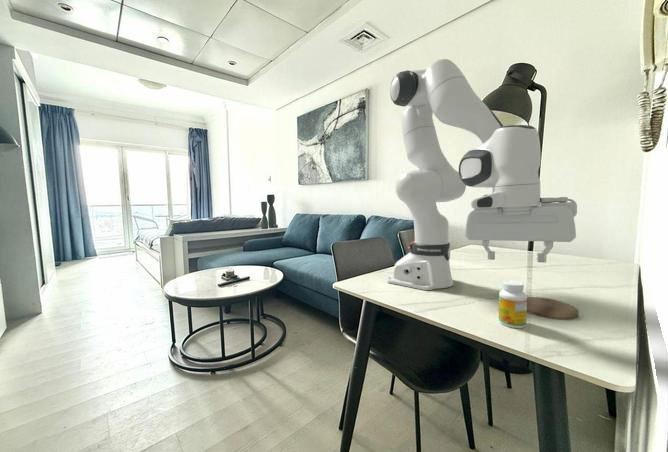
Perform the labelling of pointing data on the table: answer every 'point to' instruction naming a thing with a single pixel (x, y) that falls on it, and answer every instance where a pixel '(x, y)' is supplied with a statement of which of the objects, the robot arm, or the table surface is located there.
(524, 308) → the supplement bottle
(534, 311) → the walnut coaster
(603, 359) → the table surface
